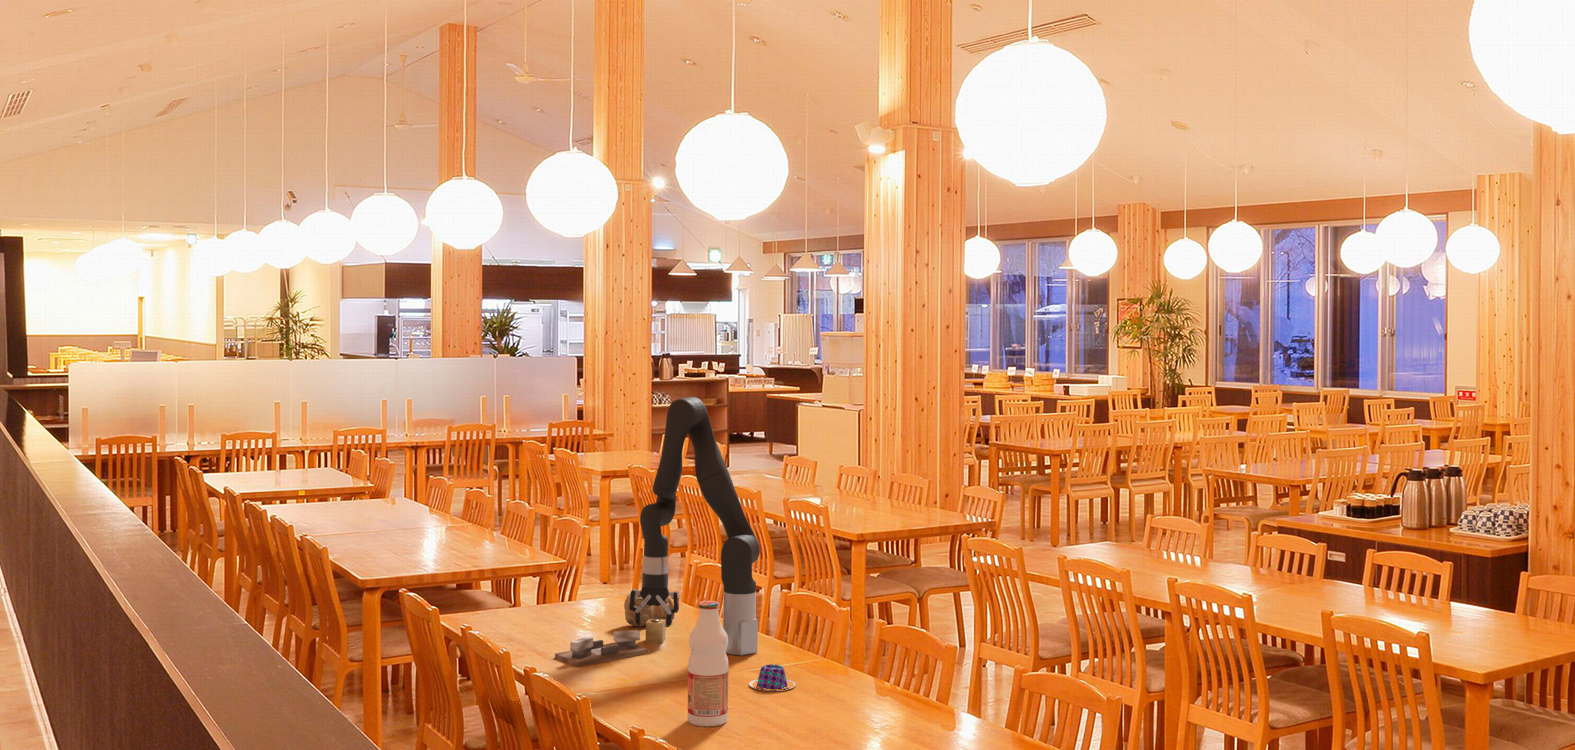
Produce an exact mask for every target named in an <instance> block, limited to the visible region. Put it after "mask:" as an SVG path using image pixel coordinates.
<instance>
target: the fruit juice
mask: <svg viewBox="0 0 1575 750" xmlns="http://www.w3.org/2000/svg"><path fill="white" fill-rule="evenodd" d="M720 606H721V605H720V602H719V601H716V600H703V601H699V602H698V611H699V614H698V618H697V621H696V624H695V627H694V628H693V630H691V632H690V634H689V638H688V639H689V641H688V644H689V648H690V655H689V658H688V662H687V663H688V665H687V720H688V722H689V724H691V725H693V726H697V727H704V726H705V727H706V728H707V727H709V728H710V726H711V727H717V726H721V725H725V723H727V721H728V717H729V716H728V715H729V713H728V712H729V658H728V656H727V653H726V649H727V646H728V636H727V633H726V632H725V630H724V629H723V623H722V622H721V619H720V614H719V610H720ZM705 727H704V728H705Z"/></svg>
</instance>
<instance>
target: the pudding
mask: <svg viewBox="0 0 1575 750" xmlns="http://www.w3.org/2000/svg"><path fill="white" fill-rule="evenodd" d="M755 681H757V686H759V687H760V688H766V689H782V688H784V687H787V686H788V685H787V681H789V682H792V683H793V685H794V686H793V687H791V688H789V689H786V688H784V689H786V690H785V691H787V690H790V689H793V688H794V687H795V686H796V683H795V681H793V680H790V679H787V677H786V672H785V668H784V666H783V665H779V664H773V663H771V664H765V665H763V666H761V667H760V671H759V674H758V678H756V679H753V680H751V681H750V682H749V683H748V684H749V687H751V688H753V689H755V690H759V691H762V690H761V689H760V688H759V687H757V686H756V687H757V688H759V689H757V688H754V687H753V685H752V684H753V683H754V682H755ZM787 688H788V687H787ZM766 689H763V691H764V692H765V691H766V692H767V691H768V692H772V691H771V690H766ZM780 691H783V689H782V690H776V691H775V692H780Z"/></svg>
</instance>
